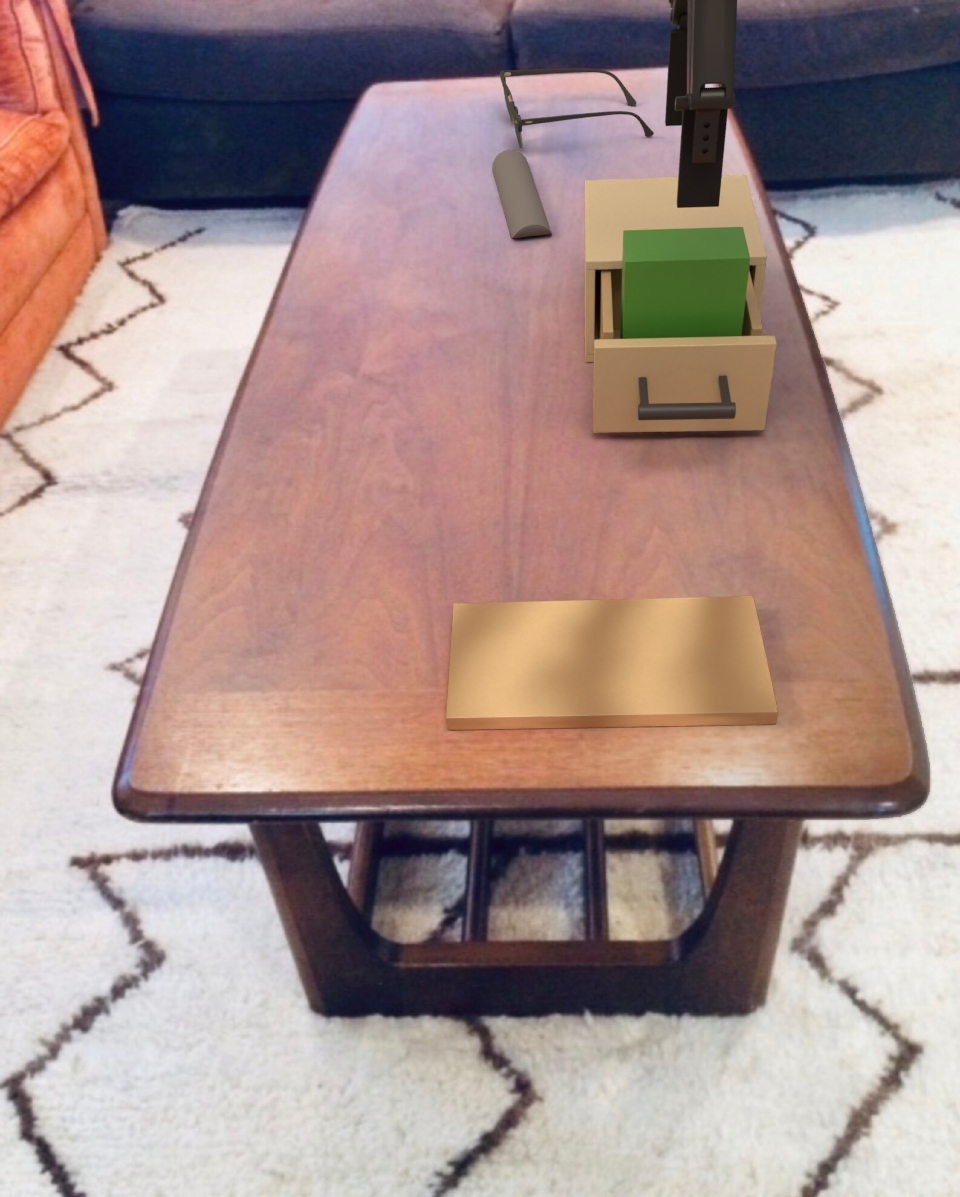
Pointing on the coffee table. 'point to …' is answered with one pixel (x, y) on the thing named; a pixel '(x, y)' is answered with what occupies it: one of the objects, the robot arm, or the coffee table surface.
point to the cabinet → (656, 208)
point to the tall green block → (683, 282)
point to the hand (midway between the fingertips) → (690, 162)
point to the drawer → (679, 374)
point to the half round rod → (519, 195)
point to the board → (608, 664)
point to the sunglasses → (522, 122)
